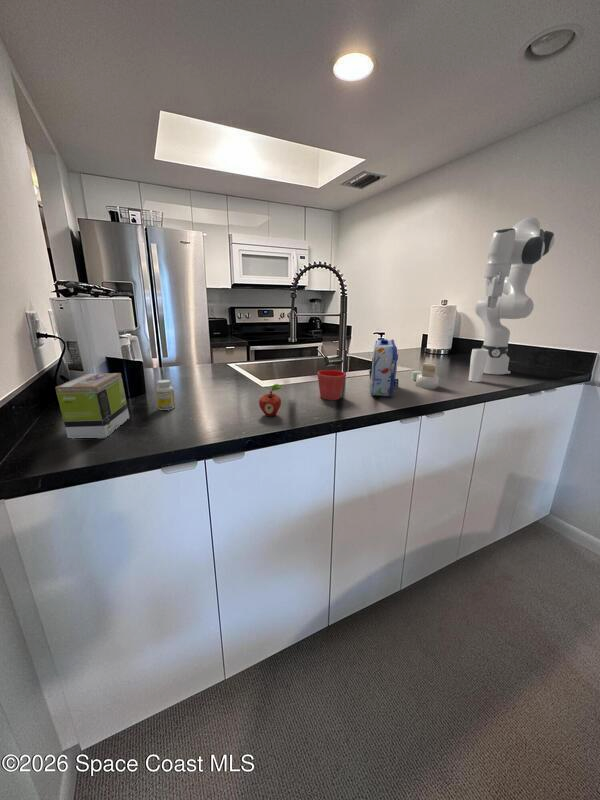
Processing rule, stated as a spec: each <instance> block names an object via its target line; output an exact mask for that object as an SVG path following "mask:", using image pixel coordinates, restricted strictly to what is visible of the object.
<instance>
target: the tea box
mask: <svg viewBox="0 0 600 800" xmlns="http://www.w3.org/2000/svg"><path fill="white" fill-rule="evenodd" d="M123 381H124V380H123V376H122V373H121V372H112V373H109V372H108V373H106V372H105V373H103V372H102V373H85V374H83V375H81V376H79V377H76V378H73V379H71V380H68V381H66V382H64V383H63V384H60V385H57V386H55V387H54V388H55V393H56V396H57V401H58V404H59V405H58V406H59V409H60V413H61V415H62V420H63V424H64V428H65V432H66V436H67V439H68V438H98V439H106V438H108V437H109V436H110V435H111V434H112V433H113V432H114V430H115V429H116V430H117V429H118V428H119V427H121V426H122V425H123V424H124V423H125V422H126V421H128V420H129V419H130V412H129V409H128V403H127V398H126V397H127V396H126V393H125V387H124V382H123ZM127 419H128V420H127ZM120 425H121V426H120ZM116 430H115V431H116ZM107 436H108V437H107ZM105 437H106V438H105Z"/></svg>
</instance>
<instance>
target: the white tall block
mask: <svg viewBox="0 0 600 800" xmlns="http://www.w3.org/2000/svg"><path fill="white" fill-rule="evenodd" d="M488 351H489V350H486V349H481V348H472V350H471V355H470V362H469V363H470V364H469V372H468V373H469V374H468V381H469V382H471V381H472V382H471V383H480V382H482V380H483V379H482V378H483V376H484V375H483V374H484V373H483V372H484V368H485V365H486V362H487V358H488Z"/></svg>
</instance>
